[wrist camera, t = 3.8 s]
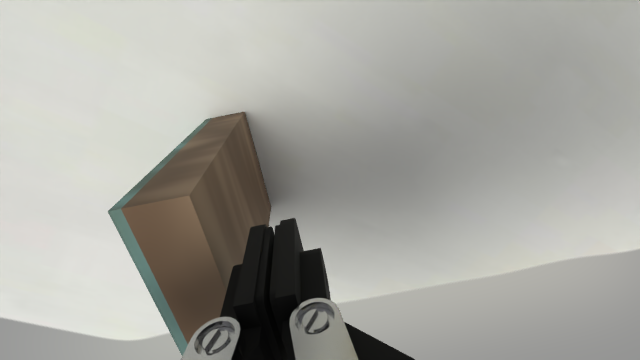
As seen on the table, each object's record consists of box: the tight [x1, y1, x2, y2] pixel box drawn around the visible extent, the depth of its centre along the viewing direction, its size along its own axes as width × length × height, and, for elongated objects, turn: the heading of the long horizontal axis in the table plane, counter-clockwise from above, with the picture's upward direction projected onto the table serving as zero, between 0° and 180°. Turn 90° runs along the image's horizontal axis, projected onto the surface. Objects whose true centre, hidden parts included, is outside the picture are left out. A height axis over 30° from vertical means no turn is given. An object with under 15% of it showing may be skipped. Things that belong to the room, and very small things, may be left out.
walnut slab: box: [108, 112, 271, 356], centre depth 17 cm, size 2×7×12 cm, turn 10°
